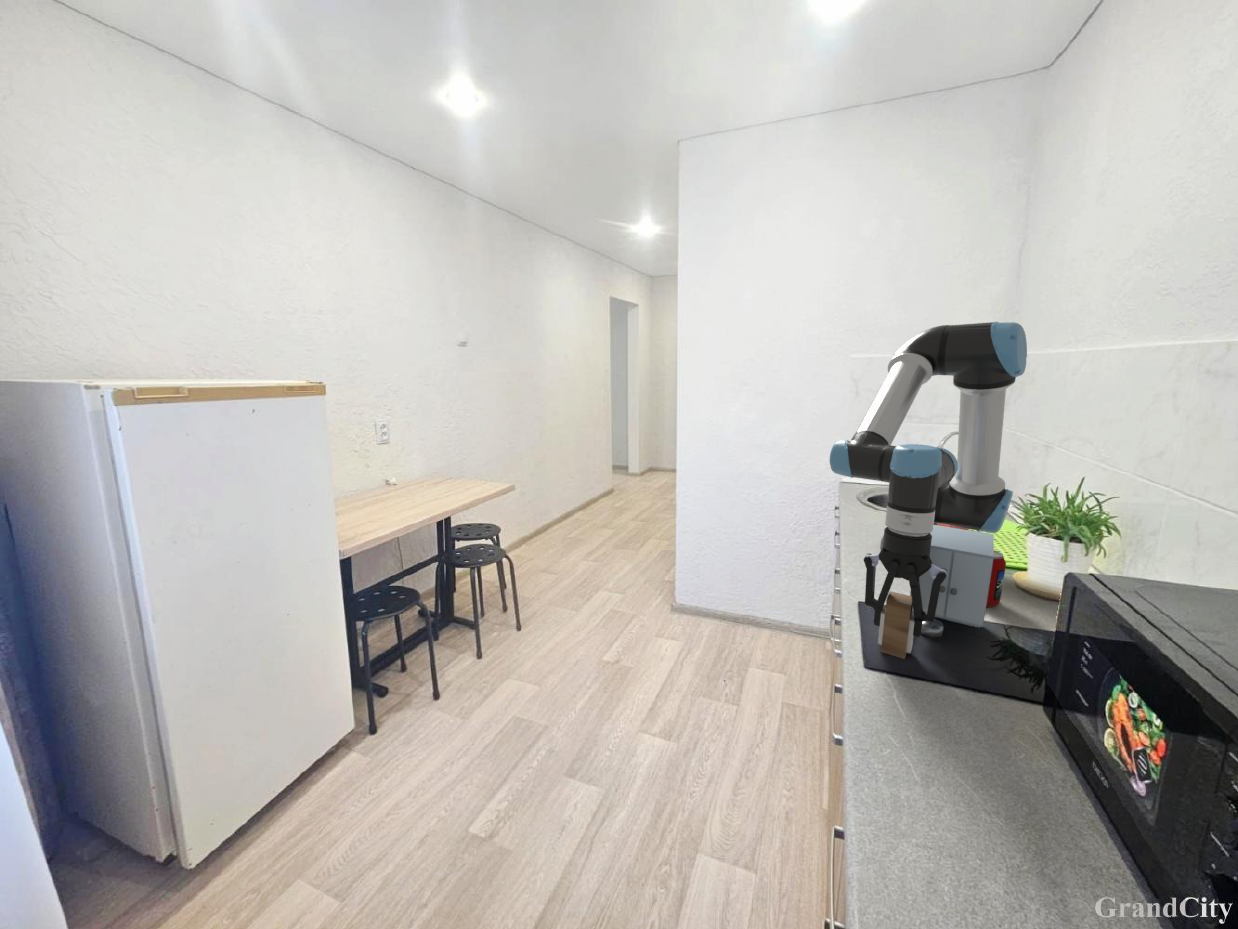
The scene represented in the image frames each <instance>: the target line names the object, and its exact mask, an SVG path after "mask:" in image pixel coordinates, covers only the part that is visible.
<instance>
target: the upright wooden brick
mask: <svg viewBox="0 0 1238 929" xmlns="http://www.w3.org/2000/svg"><path fill="white" fill-rule="evenodd" d="M885 608H886V609H885V618H884V628H883V637H882V645H881V648H880V652H881V653H884V654H886V655H891V656H894V657H897V658H899V659H903V660H905V659H906V656H907V654H908V653H907V652H906V647H907V639H908V630H909V622H910V618H911V615H913V610H912V609H913V604H912V596H910V594H909V595H908V594H905V593H900V592H895V591H891V590H889V593H888V596H887V598H886V601H885Z"/></svg>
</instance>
